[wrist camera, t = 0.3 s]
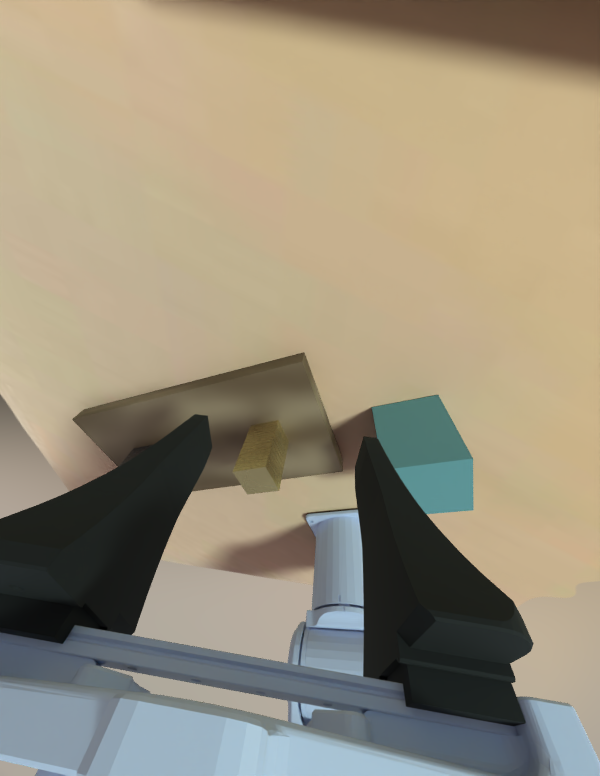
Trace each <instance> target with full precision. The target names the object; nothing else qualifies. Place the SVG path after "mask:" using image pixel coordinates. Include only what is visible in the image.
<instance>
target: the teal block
mask: <svg viewBox="0 0 600 776" xmlns="http://www.w3.org/2000/svg"><path fill="white" fill-rule="evenodd" d="M372 412H373V417H374V423H375V428H376V434H377V439H378V440H379V441H380V443H381V445H382V447H383V449H384V451H385V453H386V454H387V456H388V458H389V460H390V462H391V463H392V465H393V467H394V468H395V470H396V472H397V473H398V475H399V476H400V478H401V480H402V481H403V483H404V484H405V486H406V487H407V489H408V490H409V492H410V493H411V495H412V496H413V497H414V499H415V500H416V502H417V503H418V504H419V506H420V507H421V508H422V510H423V511H424V512H425V513H426V514H433V513H445V512H457V511H469V510H473V458H472V456H471V454H470V452H469V451H468V449H467V447H466V445H465V443H464V441H463V440H462V438H461V436H460V434H459V432H458V430H457V429H456V427H455V425H454V423H453V421H452V419H451V417H450V416H449V414H448V412H447V410H446V408H445V406H444V405H443V403H442V401H441V399H440V397H439V395H434V396H429V397H424V398H419V399H413V400H408V401H403V402H398V403H392V404H387V405H382V406H376V407H372Z"/></svg>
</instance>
